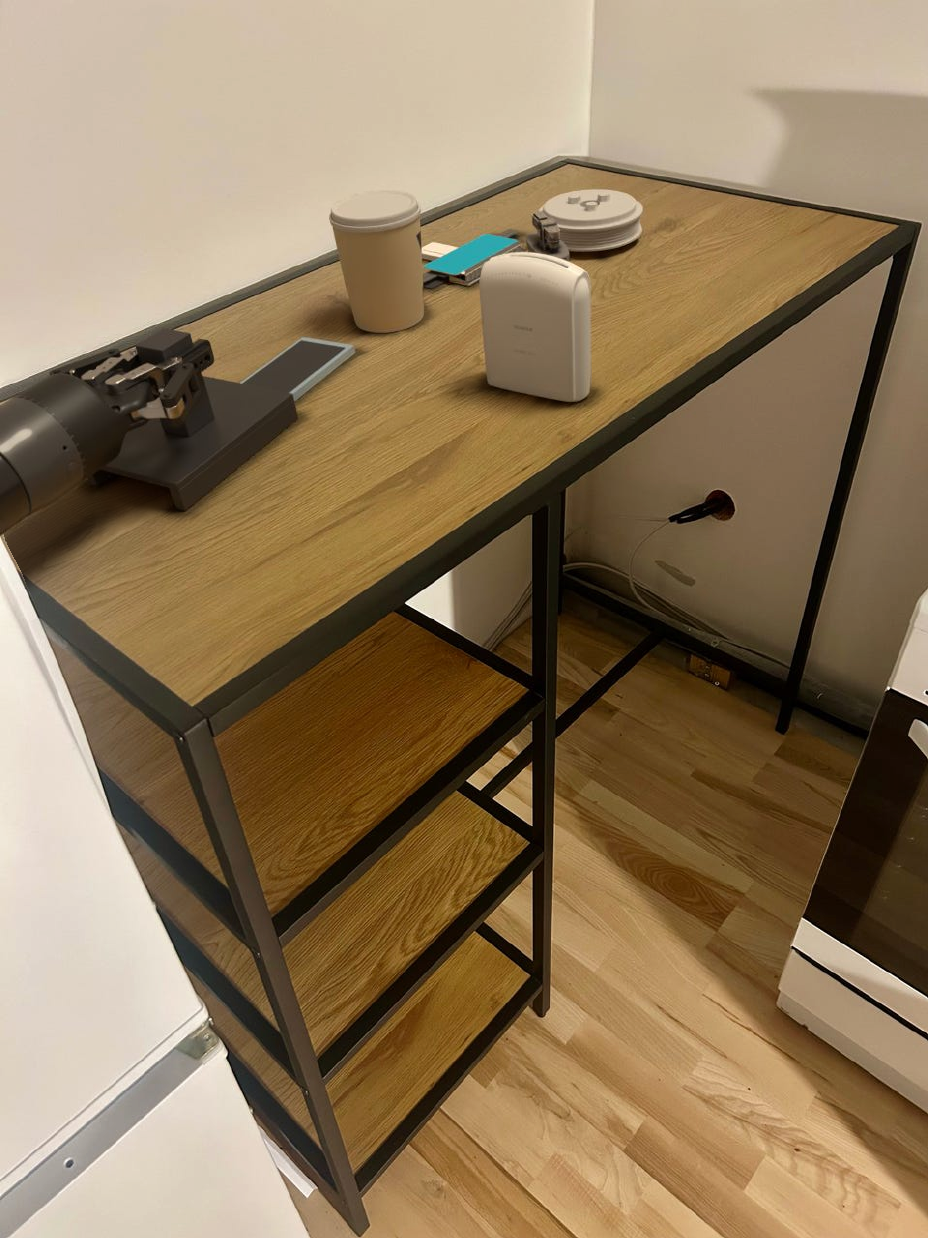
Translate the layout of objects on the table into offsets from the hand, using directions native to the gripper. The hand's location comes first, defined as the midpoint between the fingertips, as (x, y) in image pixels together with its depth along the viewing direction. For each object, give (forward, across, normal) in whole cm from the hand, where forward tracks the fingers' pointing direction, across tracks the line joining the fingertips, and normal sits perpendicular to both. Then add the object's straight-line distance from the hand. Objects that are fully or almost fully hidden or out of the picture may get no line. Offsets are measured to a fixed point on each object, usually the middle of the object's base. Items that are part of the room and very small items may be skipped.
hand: (191, 346), depth 79 cm
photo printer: (+18, -24, +9) cm, 31 cm away
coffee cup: (+27, -2, +9) cm, 29 cm away
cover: (-3, 0, +9) cm, 9 cm away
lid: (+55, -14, +9) cm, 57 cm away
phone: (+12, 0, +9) cm, 15 cm away
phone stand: (+44, -2, +9) cm, 45 cm away
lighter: (+33, -19, +9) cm, 39 cm away
